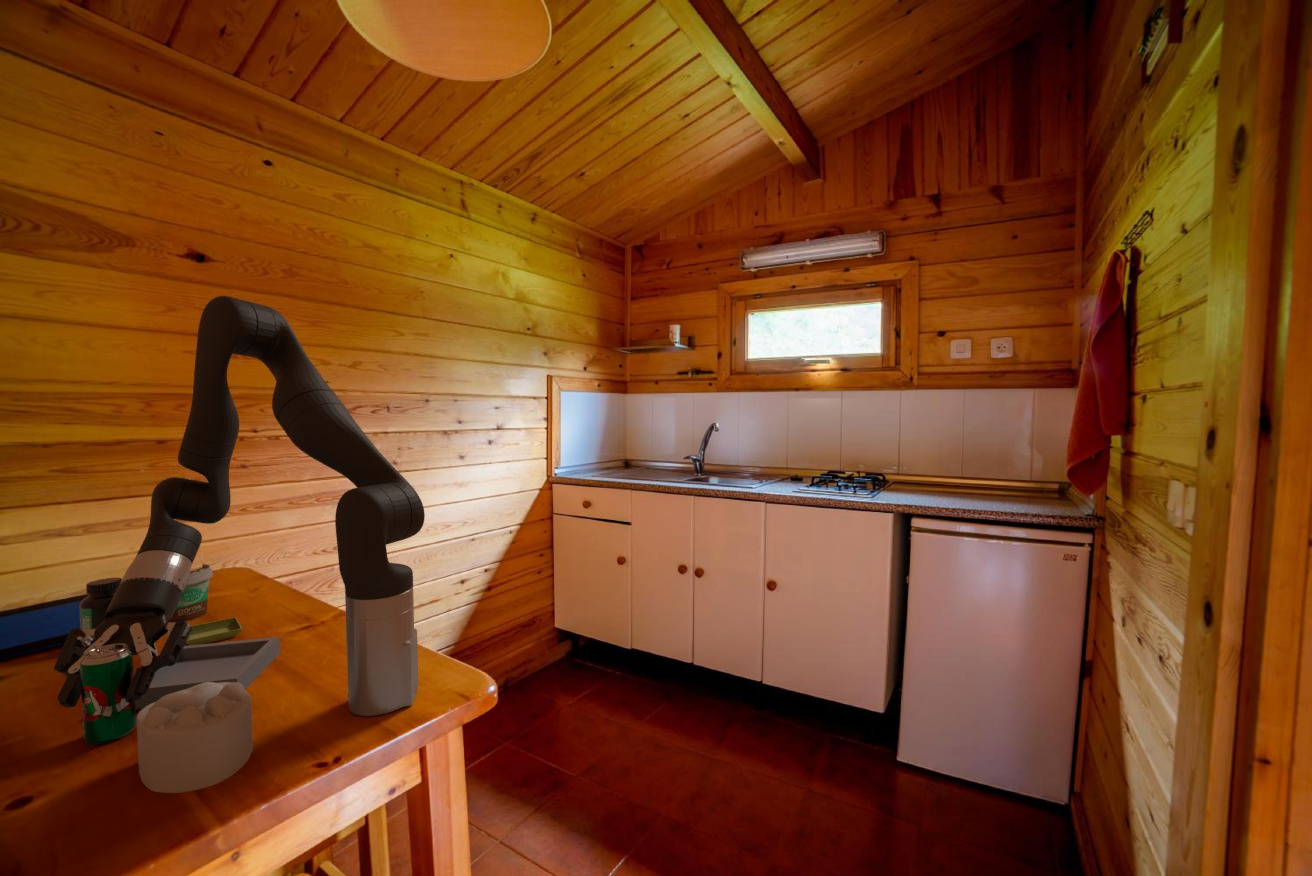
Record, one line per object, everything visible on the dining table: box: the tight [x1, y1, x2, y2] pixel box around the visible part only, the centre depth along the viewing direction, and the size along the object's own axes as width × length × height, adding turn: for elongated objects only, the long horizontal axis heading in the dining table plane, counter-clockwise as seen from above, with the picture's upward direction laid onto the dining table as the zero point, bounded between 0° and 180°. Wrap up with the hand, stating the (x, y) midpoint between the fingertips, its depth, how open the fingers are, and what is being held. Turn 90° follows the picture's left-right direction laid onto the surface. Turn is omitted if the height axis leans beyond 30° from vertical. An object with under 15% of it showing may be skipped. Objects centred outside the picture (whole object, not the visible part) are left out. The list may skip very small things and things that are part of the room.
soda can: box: [80, 643, 137, 745], centre depth 74 cm, size 5×5×12 cm
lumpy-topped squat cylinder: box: [136, 682, 254, 794], centre depth 68 cm, size 10×13×9 cm
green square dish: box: [185, 616, 243, 646], centre depth 107 cm, size 9×9×2 cm
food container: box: [170, 563, 214, 622], centre depth 116 cm, size 12×6×10 cm, turn 168°
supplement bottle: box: [78, 577, 123, 650], centre depth 104 cm, size 7×7×12 cm
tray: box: [135, 636, 281, 710], centre depth 89 cm, size 16×16×3 cm
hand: (100, 701), depth 72 cm, fingers open, 6 cm apart
